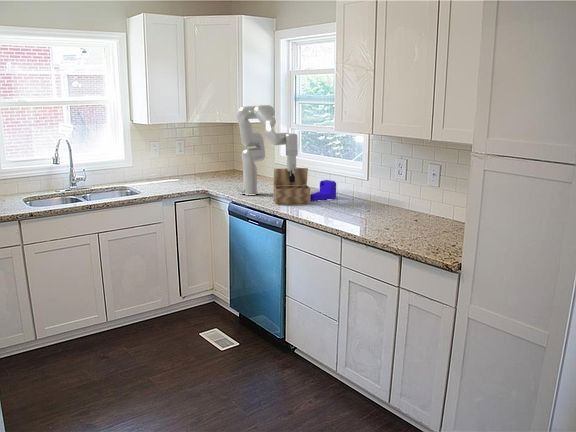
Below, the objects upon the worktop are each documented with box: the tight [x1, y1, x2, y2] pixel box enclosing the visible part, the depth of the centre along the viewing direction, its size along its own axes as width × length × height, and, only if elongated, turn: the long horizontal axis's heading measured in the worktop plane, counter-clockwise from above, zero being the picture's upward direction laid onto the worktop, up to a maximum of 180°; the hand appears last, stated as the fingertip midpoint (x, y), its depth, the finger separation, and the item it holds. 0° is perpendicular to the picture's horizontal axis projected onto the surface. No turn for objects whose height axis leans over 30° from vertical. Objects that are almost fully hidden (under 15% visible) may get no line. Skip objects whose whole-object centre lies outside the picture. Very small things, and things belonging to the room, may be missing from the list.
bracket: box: [310, 179, 337, 202], centre depth 349 cm, size 18×11×12 cm, turn 132°
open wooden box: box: [272, 185, 311, 205], centre depth 339 cm, size 22×12×10 cm, turn 99°
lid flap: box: [272, 167, 309, 186], centre depth 341 cm, size 22×12×1 cm
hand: (292, 181), depth 337 cm, fingers closed
